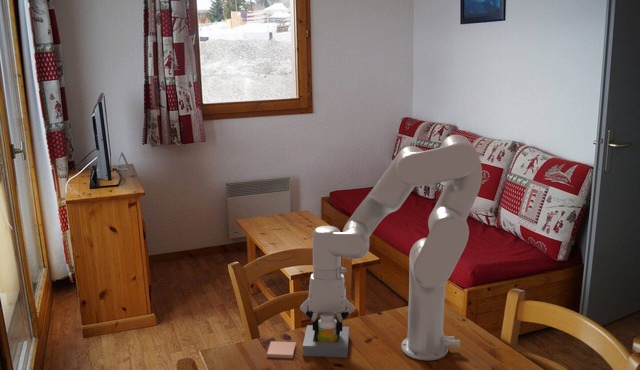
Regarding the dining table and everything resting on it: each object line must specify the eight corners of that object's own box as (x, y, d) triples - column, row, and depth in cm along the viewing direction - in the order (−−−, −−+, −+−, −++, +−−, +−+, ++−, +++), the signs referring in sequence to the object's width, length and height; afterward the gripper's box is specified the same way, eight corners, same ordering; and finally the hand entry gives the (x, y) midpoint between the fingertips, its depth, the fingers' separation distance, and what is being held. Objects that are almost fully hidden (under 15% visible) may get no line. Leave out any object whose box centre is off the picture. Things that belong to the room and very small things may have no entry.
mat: (295, 345, 180) (295, 342, 180) (292, 358, 173) (292, 354, 173) (271, 344, 180) (270, 341, 180) (267, 357, 174) (266, 353, 173)
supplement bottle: (314, 347, 178) (314, 315, 176) (323, 339, 183) (323, 307, 181) (332, 352, 176) (331, 319, 174) (340, 343, 181) (340, 311, 178)
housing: (348, 336, 185) (349, 326, 184) (347, 357, 173) (347, 347, 173) (307, 334, 186) (307, 325, 185) (302, 355, 174) (302, 345, 174)
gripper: (359, 267, 177) (358, 327, 181) (297, 266, 178) (298, 325, 183) (358, 277, 170) (358, 340, 174) (293, 276, 171) (295, 338, 176)
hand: (327, 332), depth 179 cm, fingers closed on supplement bottle, 5 cm apart
